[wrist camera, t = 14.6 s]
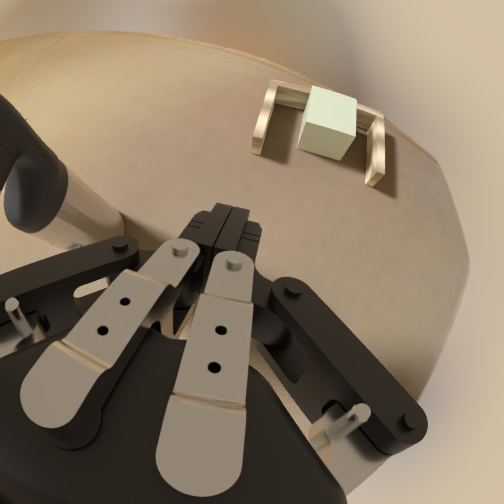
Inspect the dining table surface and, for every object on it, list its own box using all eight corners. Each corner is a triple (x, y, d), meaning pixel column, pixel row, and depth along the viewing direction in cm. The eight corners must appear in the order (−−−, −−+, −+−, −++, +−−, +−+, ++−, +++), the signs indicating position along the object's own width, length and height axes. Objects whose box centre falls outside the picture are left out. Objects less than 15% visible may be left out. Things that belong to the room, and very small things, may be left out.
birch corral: (372, 186, 44) (384, 174, 39) (251, 153, 44) (252, 136, 39) (373, 127, 47) (383, 113, 42) (268, 96, 47) (271, 79, 42)
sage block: (339, 161, 45) (355, 136, 37) (296, 148, 45) (306, 121, 37) (343, 125, 46) (356, 99, 39) (303, 113, 46) (312, 85, 39)
